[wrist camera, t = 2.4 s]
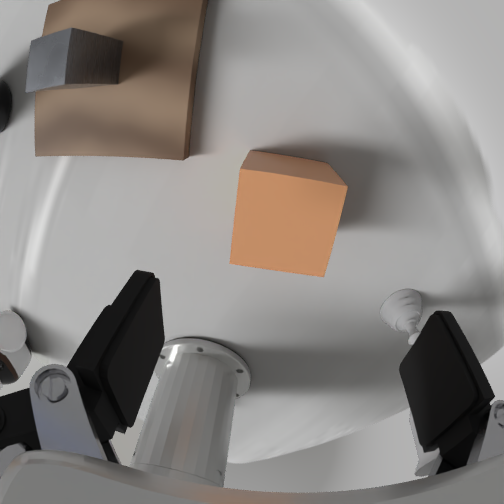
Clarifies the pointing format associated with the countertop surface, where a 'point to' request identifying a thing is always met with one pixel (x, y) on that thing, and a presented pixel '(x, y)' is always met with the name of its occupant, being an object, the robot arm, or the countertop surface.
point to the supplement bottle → (4, 104)
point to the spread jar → (13, 347)
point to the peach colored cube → (286, 213)
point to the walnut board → (127, 82)
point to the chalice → (405, 320)
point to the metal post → (73, 61)
